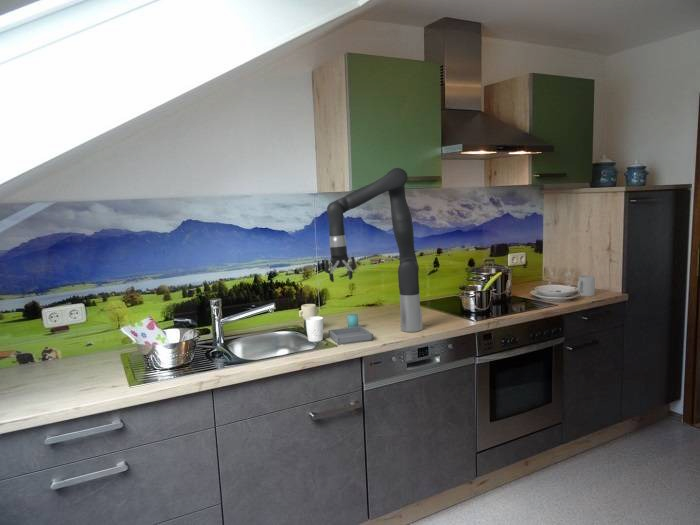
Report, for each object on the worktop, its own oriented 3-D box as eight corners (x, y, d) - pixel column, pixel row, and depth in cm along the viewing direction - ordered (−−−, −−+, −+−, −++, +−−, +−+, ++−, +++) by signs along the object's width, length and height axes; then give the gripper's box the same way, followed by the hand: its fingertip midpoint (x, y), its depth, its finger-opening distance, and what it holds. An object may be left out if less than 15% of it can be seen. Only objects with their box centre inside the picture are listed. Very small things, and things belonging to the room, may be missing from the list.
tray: (361, 332, 238) (361, 326, 238) (373, 340, 223) (372, 333, 222) (328, 336, 233) (328, 330, 233) (338, 345, 218) (337, 338, 218)
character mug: (315, 328, 250) (314, 302, 249) (323, 330, 245) (322, 304, 243) (296, 332, 244) (294, 306, 242) (304, 335, 238) (302, 308, 237)
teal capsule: (356, 327, 247) (356, 313, 247) (360, 330, 242) (359, 315, 242) (346, 329, 246) (345, 314, 245) (349, 331, 241) (349, 317, 240)
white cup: (326, 337, 231) (325, 316, 230) (321, 342, 224) (319, 320, 223) (310, 337, 233) (309, 316, 232) (304, 342, 226) (302, 320, 225)
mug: (584, 293, 303) (584, 275, 302) (597, 294, 296) (597, 276, 295) (571, 295, 297) (571, 277, 296) (584, 297, 290) (584, 278, 289)
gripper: (350, 243, 237) (353, 277, 238) (321, 246, 233) (324, 281, 234) (355, 244, 229) (358, 279, 231) (325, 247, 225) (328, 283, 227)
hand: (341, 280), depth 233 cm, fingers open, 8 cm apart
